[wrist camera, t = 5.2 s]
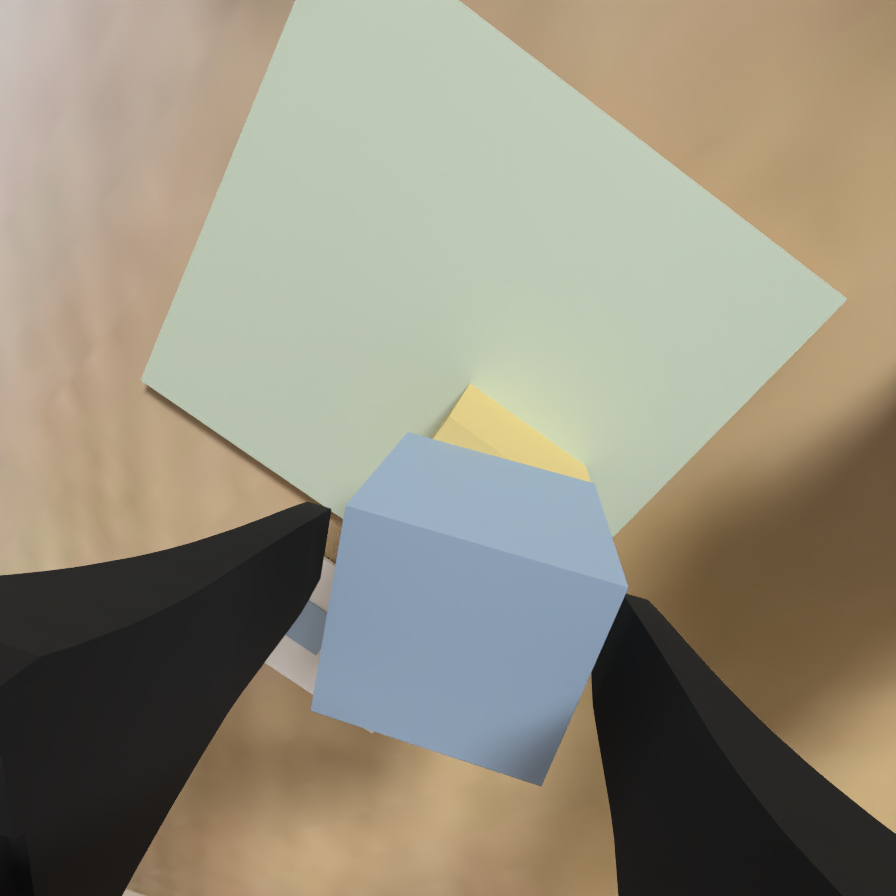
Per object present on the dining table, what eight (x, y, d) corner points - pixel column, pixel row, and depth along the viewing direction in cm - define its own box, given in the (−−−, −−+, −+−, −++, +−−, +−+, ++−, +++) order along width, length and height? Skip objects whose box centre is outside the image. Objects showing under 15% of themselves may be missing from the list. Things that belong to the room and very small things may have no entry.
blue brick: (594, 483, 12) (628, 587, 8) (538, 635, 14) (540, 786, 10) (407, 432, 13) (345, 505, 8) (375, 585, 14) (310, 710, 10)
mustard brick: (586, 466, 17) (604, 526, 12) (501, 561, 18) (492, 642, 14) (470, 383, 16) (449, 416, 12) (395, 488, 18) (354, 548, 14)
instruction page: (453, 643, 21) (452, 648, 21) (373, 730, 23) (371, 735, 23) (281, 527, 20) (278, 529, 20) (218, 628, 23) (215, 632, 23)
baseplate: (835, 298, 14) (847, 298, 14) (515, 627, 20) (515, 637, 19) (342, -80, 13) (334, -95, 13) (152, 377, 19) (140, 380, 18)
